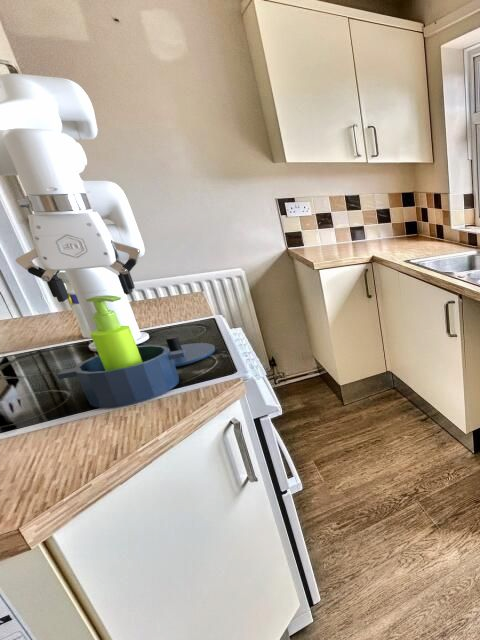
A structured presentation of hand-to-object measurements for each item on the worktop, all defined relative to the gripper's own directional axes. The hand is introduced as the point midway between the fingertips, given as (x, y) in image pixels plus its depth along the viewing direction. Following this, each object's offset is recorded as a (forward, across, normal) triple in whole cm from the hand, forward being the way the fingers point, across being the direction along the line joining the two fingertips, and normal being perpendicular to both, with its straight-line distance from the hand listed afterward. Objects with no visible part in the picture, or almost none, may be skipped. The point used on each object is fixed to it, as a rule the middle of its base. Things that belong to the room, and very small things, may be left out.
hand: (97, 296), depth 82 cm
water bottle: (+22, -18, +53) cm, 60 cm away
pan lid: (+20, +6, +15) cm, 26 cm away
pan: (+20, +1, -2) cm, 20 cm away
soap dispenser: (+20, +1, -2) cm, 20 cm away
